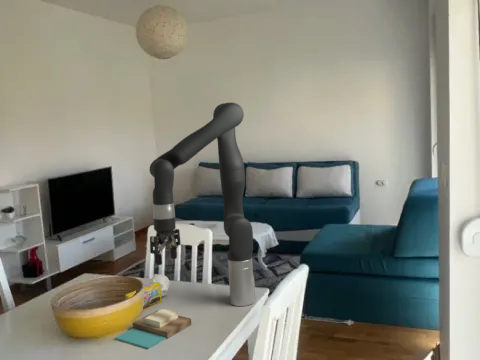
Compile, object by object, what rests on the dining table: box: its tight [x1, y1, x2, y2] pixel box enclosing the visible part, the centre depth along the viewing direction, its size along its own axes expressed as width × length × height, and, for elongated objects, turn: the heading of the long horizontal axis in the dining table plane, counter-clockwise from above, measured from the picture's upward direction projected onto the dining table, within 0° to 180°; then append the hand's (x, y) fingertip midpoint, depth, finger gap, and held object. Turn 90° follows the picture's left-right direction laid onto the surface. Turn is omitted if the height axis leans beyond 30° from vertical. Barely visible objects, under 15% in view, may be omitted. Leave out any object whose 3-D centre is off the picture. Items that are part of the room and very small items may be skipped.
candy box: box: [124, 282, 162, 311], centre depth 182 cm, size 16×2×8 cm, turn 143°
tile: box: [145, 308, 179, 328], centre depth 165 cm, size 9×7×2 cm
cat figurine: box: [149, 273, 171, 298], centre depth 196 cm, size 9×11×12 cm
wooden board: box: [132, 310, 192, 340], centre depth 165 cm, size 12×16×2 cm
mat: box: [114, 327, 167, 350], centre depth 157 cm, size 8×15×1 cm, turn 56°
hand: (166, 261), depth 170 cm, fingers open, 8 cm apart
